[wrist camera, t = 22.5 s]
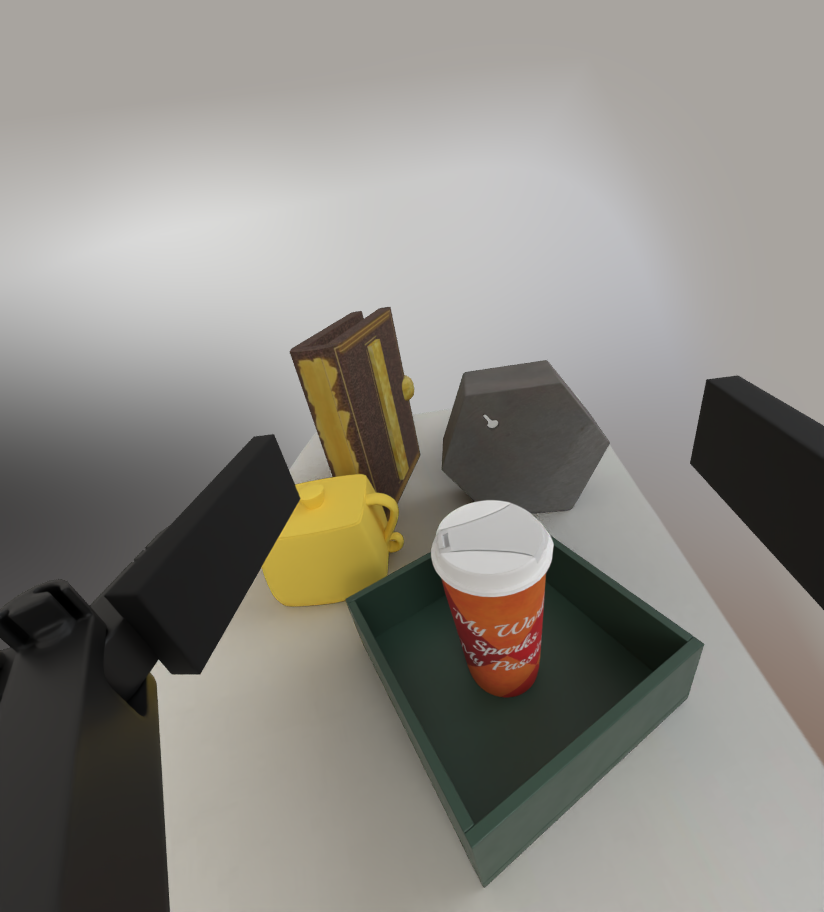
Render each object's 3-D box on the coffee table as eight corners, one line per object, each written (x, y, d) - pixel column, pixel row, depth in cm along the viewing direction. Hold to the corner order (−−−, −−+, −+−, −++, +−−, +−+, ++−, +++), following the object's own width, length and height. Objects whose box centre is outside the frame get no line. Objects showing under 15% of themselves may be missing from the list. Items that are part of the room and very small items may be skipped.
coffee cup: (462, 720, 31) (433, 590, 23) (450, 627, 38) (424, 505, 30) (570, 705, 30) (575, 568, 23) (537, 614, 37) (532, 487, 30)
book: (393, 528, 53) (343, 346, 41) (337, 526, 56) (274, 354, 43) (430, 446, 71) (403, 301, 58) (386, 447, 74) (352, 309, 61)
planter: (612, 441, 53) (519, 325, 46) (634, 473, 46) (530, 343, 39) (509, 505, 60) (415, 412, 53) (515, 540, 53) (410, 440, 47)
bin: (687, 697, 30) (704, 643, 26) (483, 888, 23) (471, 849, 20) (514, 553, 45) (511, 507, 42) (363, 644, 39) (344, 598, 36)
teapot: (237, 621, 44) (189, 545, 38) (268, 545, 55) (234, 476, 49) (411, 594, 43) (389, 511, 37) (408, 521, 54) (390, 448, 48)
